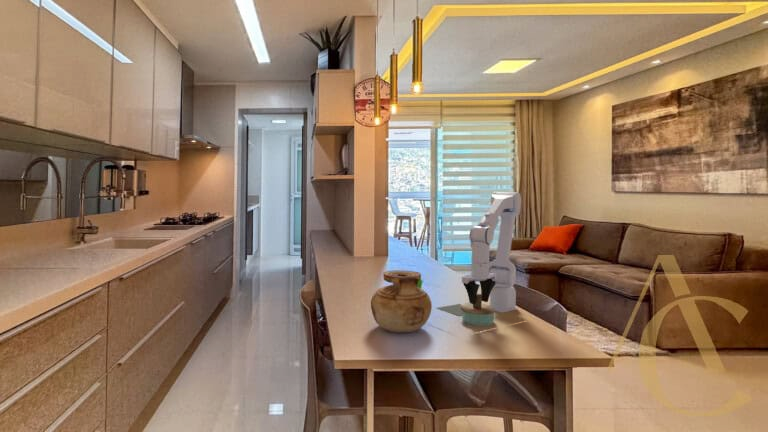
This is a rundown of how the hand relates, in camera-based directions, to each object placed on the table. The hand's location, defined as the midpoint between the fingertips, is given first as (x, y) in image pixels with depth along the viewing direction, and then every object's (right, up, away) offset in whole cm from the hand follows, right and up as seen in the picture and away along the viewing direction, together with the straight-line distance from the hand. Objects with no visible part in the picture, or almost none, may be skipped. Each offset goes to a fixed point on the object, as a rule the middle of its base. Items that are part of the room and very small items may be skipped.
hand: (478, 302), depth 138 cm
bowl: (0, -7, 0) cm, 7 cm away
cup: (-22, -6, +13) cm, 26 cm away
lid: (0, -3, +1) cm, 3 cm away
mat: (-4, -6, +13) cm, 15 cm away
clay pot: (-26, -7, -8) cm, 29 cm away
